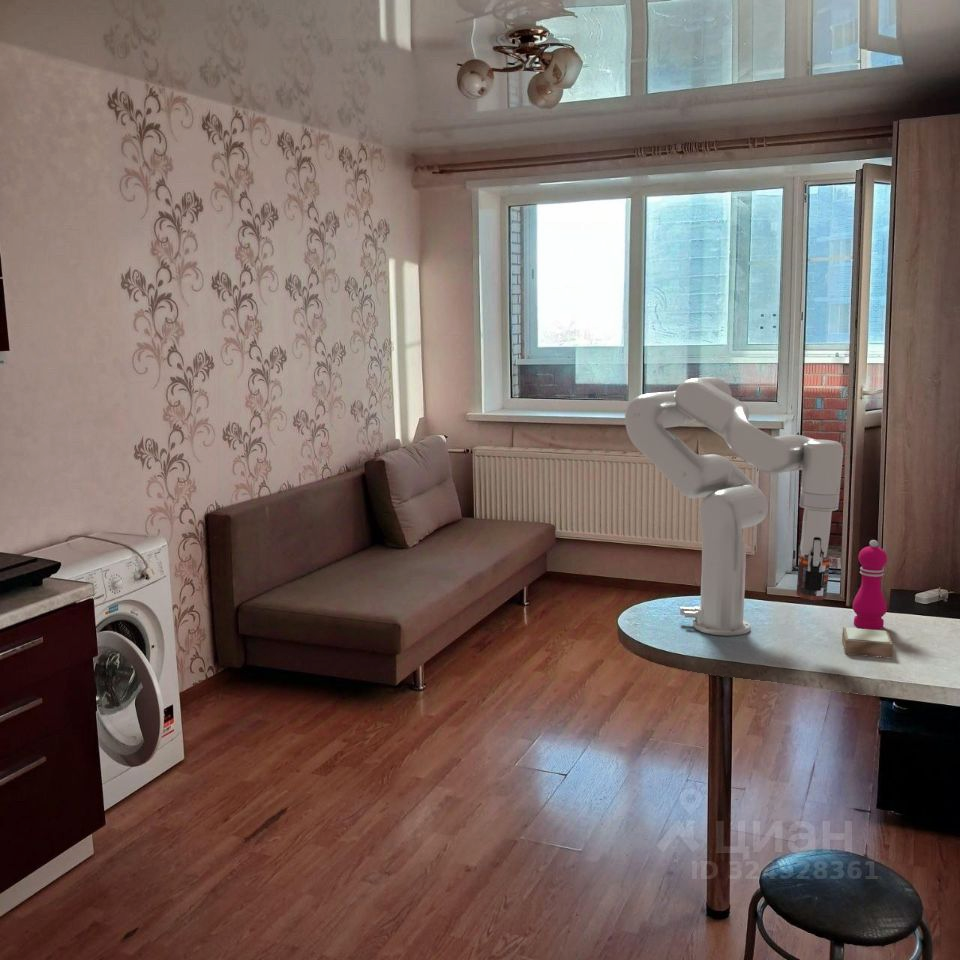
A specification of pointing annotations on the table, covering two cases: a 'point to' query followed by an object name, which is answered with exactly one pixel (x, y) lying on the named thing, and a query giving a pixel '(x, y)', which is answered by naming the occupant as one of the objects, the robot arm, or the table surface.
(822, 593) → the supplement bottle
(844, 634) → the base
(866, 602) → the pepper mill
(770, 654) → the table surface
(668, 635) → the table surface
